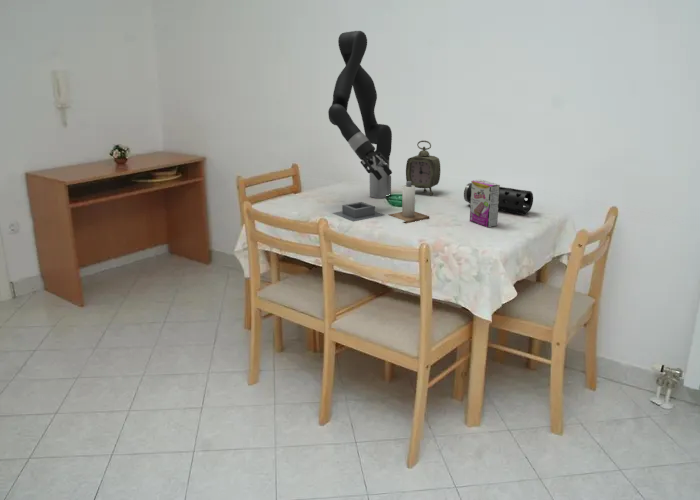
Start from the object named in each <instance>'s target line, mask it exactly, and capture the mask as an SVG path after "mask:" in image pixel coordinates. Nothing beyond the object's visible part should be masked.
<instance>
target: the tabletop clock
mask: <svg viewBox="0 0 700 500" xmlns="http://www.w3.org/2000/svg"><path fill="white" fill-rule="evenodd" d="M420 143H427V144H428V145H429V147H427V148H426V146H423V147H420V146H419V144H420ZM431 147H432V144H431V142H430V141H428V140H420V141H418V142H417V148H418V149H420V151H419V152H418V155H415V156H412V157H409V158H407V160H406V165H405V179H406V181H411V185H413V186H415V189H422V190H423V191H422V192H423V193H427V190H428V189H429V195H430V196H431V197H432V196H433V195H434V193H433V191H432V188H433V187H435V186H438V184H439V182H440V179H441V162H440V161H441V160H440V159H439V157H437V156H435V155H430V152H429V151H428V150H430V149H431Z"/></svg>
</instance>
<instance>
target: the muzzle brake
mask: <svg viewBox="0 0 700 500" xmlns="http://www.w3.org/2000/svg"><path fill="white" fill-rule="evenodd" d="M463 191H464V192H463V199H464V201H465V202H466V203H469V204H470V203H471V182H468V183H467V184H466V186H465V187H464V190H463ZM533 203H534V194H533V192H532V191H531V190H526V189H518V188H511V187H503V186H500V189H499V205H498V211H504V212H508V213H513V214H519V215H523V216H524V215H527V214H528V213H529V212H530V210H531V209H532V207H533Z"/></svg>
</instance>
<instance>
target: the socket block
mask: <svg viewBox="0 0 700 500" xmlns="http://www.w3.org/2000/svg"><path fill="white" fill-rule="evenodd" d="M341 208H342V209H341V211H336V212H332V215H335V216H338V217H340V218H342V219H345V220H348V221H351V222H358V221H363V220H369V219H374V218H378V217H384V216H385V214H383V213H381V212H378V211H376V209H375V208H376V206H375V205H372V204H369V203H366V202H363V201H360V202H354V203H347V204H343V205H342V206H341Z"/></svg>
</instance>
